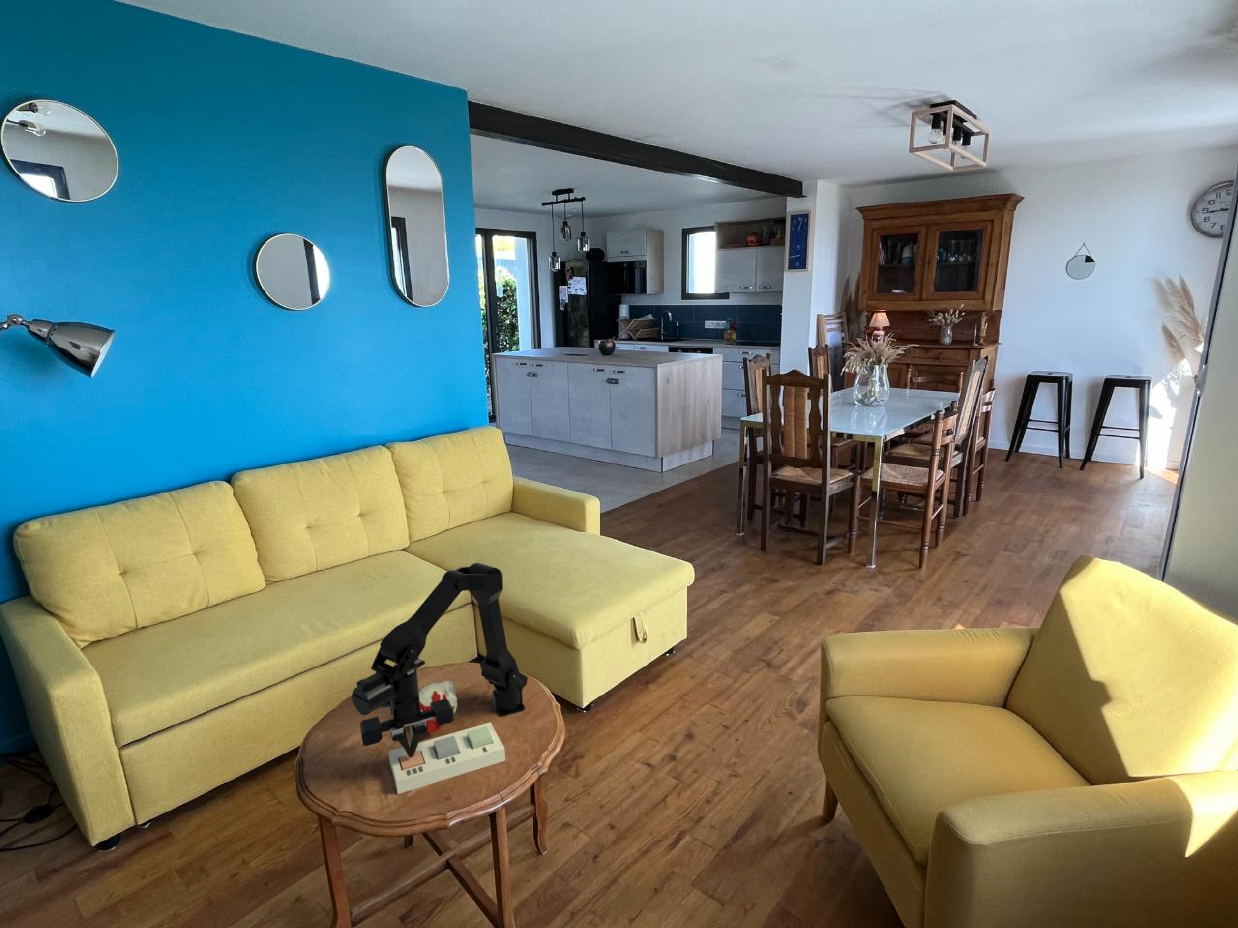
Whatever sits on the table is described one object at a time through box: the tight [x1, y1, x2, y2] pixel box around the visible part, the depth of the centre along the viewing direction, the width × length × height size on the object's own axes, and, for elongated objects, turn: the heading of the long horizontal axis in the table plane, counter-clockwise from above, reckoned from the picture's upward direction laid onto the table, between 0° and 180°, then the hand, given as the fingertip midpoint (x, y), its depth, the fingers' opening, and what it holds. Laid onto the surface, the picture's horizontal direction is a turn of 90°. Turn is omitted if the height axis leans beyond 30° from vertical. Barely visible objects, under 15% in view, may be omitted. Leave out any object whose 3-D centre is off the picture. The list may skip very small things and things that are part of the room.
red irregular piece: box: [419, 679, 458, 734], centre depth 165 cm, size 9×11×15 cm
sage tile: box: [468, 726, 492, 750], centre depth 154 cm, size 4×4×2 cm
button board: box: [388, 722, 506, 795], centre depth 151 cm, size 23×11×3 cm, turn 116°
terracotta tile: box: [399, 751, 424, 771], centre depth 148 cm, size 4×4×2 cm
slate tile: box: [434, 736, 459, 760], centre depth 151 cm, size 4×4×2 cm
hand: (411, 755), depth 148 cm, fingers closed
